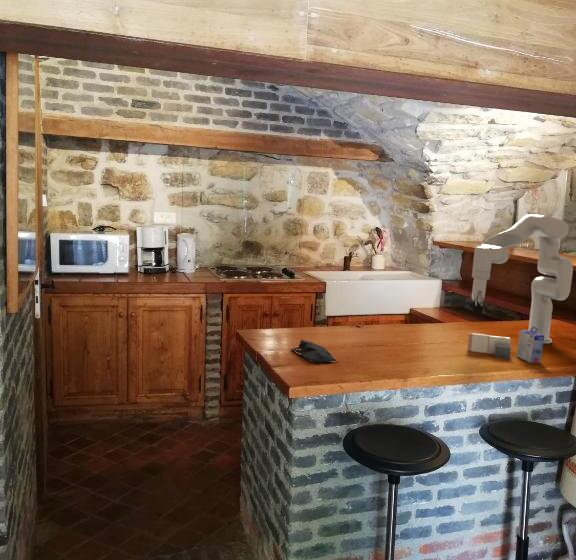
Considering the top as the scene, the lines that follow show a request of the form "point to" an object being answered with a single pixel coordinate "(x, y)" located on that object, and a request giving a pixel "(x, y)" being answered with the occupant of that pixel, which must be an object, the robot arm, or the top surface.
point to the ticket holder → (499, 346)
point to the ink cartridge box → (530, 345)
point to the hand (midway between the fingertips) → (476, 312)
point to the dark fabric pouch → (314, 352)
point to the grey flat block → (477, 342)
